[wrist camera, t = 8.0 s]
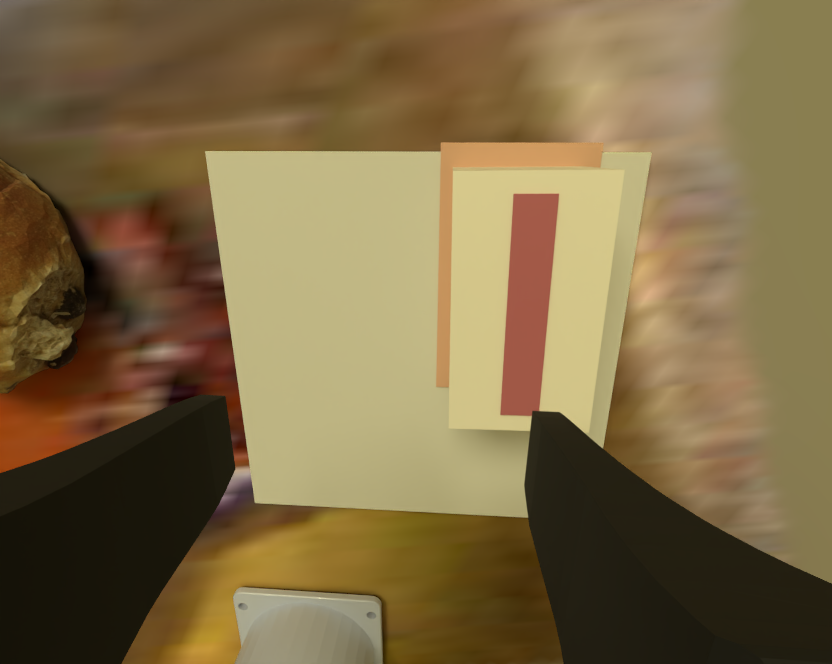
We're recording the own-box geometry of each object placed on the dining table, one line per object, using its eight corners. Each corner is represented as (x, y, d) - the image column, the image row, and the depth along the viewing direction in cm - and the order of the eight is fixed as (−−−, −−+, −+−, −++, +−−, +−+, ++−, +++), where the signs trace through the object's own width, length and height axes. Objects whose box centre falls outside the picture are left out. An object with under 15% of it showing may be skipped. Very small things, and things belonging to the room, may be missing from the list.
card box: (581, 166, 17) (625, 169, 12) (559, 372, 19) (589, 434, 15) (452, 167, 17) (452, 170, 13) (449, 370, 20) (448, 429, 15)
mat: (587, 511, 23) (591, 522, 22) (259, 494, 24) (254, 504, 23) (646, 143, 17) (654, 142, 16) (211, 142, 18) (202, 142, 17)
